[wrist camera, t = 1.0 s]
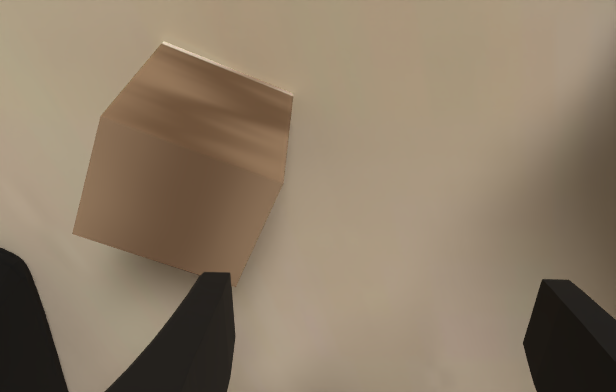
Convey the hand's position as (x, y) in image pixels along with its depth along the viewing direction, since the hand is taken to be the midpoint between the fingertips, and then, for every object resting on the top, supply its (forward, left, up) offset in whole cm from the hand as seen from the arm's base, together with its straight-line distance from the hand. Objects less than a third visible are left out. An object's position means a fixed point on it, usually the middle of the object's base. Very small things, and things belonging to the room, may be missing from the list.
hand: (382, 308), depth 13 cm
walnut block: (+5, +2, -10) cm, 11 cm away
